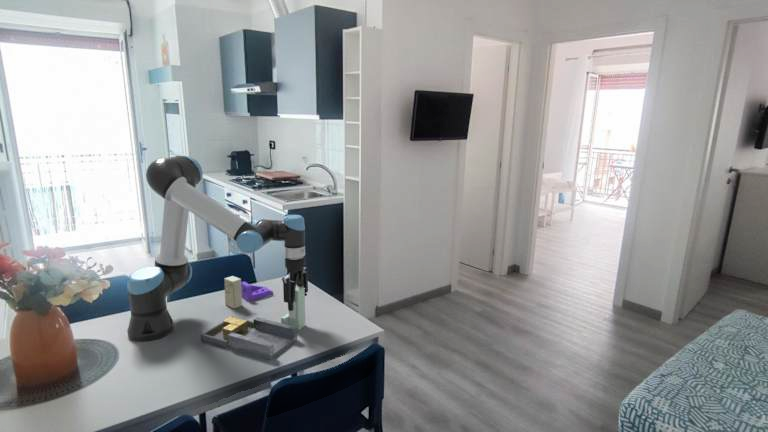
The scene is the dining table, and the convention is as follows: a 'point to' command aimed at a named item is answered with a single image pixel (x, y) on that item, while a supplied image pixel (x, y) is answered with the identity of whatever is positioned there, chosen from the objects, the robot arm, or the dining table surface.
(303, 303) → the mint t-shaped block
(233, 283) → the skincare box
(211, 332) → the chip tray
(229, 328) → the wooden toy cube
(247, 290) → the bracket
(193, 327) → the dining table surface
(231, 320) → the dull yellow cube
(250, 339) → the slot rail
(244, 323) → the tan yellow cube
